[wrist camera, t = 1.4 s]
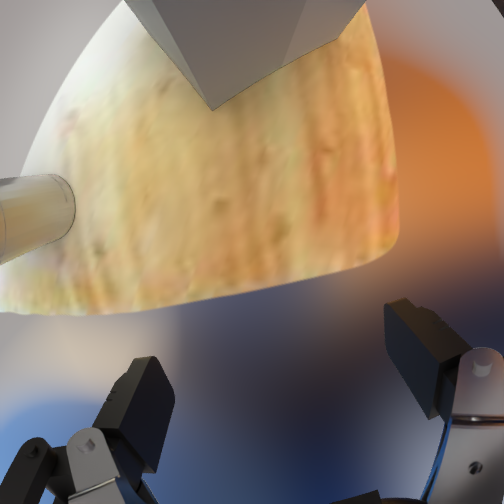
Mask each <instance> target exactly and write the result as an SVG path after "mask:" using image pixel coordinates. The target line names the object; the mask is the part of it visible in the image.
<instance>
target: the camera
mask: <svg viewBox="0 0 504 504" xmlns="http://www.w3.org/2000/svg"><path fill="white" fill-rule="evenodd" d="M492 2H493V3H494V4H495V6H496V7H497V9H498V10H499V12H500V13H501V15H502V16H503V17H504V0H492Z"/></svg>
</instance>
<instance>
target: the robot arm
mask: <svg viewBox="0 0 504 504" xmlns="http://www.w3.org/2000/svg"><path fill="white" fill-rule="evenodd" d="M74 215H75V202H74V197H73V193H72V191H71V189H70V187H69V185H68V184H67V183H66V181H65V180H63V179H62V178H61V177H59V176H57V175H52V174H48V175H34V176H23V177H13V178H4V179H0V265H2V264H4V263H6V262H8V261H10V260H12V259H14V258H16V257H19V256H21V255H23V254H25V253H27V252H29V251H32V250H34V249H36V248H38V247H41V246H43V245H45V244H48V243H50V242H52V241H55V240H57V239H59V238H61V237H63V236H64V235H65V234H66V233H67V232H68V231H69V229H70V227H71V225H72V223H73V220H74ZM384 332H385V346H386V350H387V353H388V356H389V357H390V359H391V361H392V362H393V364H394V365H395V367H396V368H397V370H398V372H399V373H400V375H401V376H402V378H403V379H404V381H405V383H406V384H407V386H408V387H409V389H410V390H411V392H412V394H413V395H414V397H415V399H416V400H417V402H418V404H419V405H420V407H421V408H422V410H423V412H424V413H425V415H426V417H427V418H428V420H430V419H432V418H434V417H436V416H439V415H440V416H441V418H442V419H443V421H444V422H445V423H444V427H443V431H442V434H441V438H440V442H439V446H438V449H437V453H436V456H435V460H434V463H433V466H432V469H431V472H430V475H429V477H428V480H427V482H426V485H425V487H424V490H423V492H422V495H421V497H420V500H418V499H410V498H383V499H380V496H379V492H378V490H375V491H372V492H369V493H365V494H362V495H359V496H355V497H352V498H348V499H344V500H341V501H337V502H333V503H331V504H502V500H503V496H504V356H503V357H502V356H501V355H500V353H498V352H497V351H495V350H493V349H490V348H475V349H473V348H472V347H471V346H470V345H469V344H468V343H467V342H466V341H465V340H464V339H462V337H460V336H459V335H458V334H457V333H456V332H455V331H454V330H453V329H452V328H451V327H449V325H448V324H447V323H446V322H445V321H442V319H441V318H440V317H439V316H438V315H437V314H436V313H435V312H434V311H432V310H429V309H426V308H424V307H422V306H421V307H419V308H416V307H415V306H414V305H413V304H412V303H411V302H410V301H409V300H408V299H407V298H401V299H398V300H395V301H392V302H389V303H386V304H385V305H384ZM110 392H111V393H110V394H109V395H108V397H107V399H106V401H105V403H104V404H103V406H102V408H101V410H100V412H99V414H98V416H97V418H96V420H95V421H94V423H93V425H92V427H90V428H84V429H82V430H80V431H78V432H76V433H75V434H74V435H73V436H72V437H71V438H70V439H69V441H68V443H67V446H61V447H55V448H52V447H51V446H50V445H49V444H48V443H47V442H46V441H45V440H44V439H43V438H40V437H36V438H32V439H30V440H28V441H27V442H25V443H24V444H23V445H22V446H21V448H20V450H19V451H18V453H17V455H16V457H15V458H14V461H13V462H12V464H11V466H10V468H9V469H8V472H7V473H6V475H5V477H4V479H3V481H2V483H1V485H0V504H39V502H40V499H41V496H42V494H43V492H44V489H45V488H46V489H47V490H49V491H50V492H51V493H52V494H53V495H55V496H56V497H55V499H54V502H53V504H159V503H158V502H157V500H156V498H155V496H154V495H153V494H152V491H151V490H150V488H149V486H148V485H147V483H146V482H145V480H143V478H142V473H156V471H157V468H158V464H159V459H160V456H161V452H162V448H163V444H164V441H165V437H166V433H167V430H168V426H169V422H170V418H171V415H172V412H173V408H174V404H175V395H174V391H173V388H172V386H171V384H170V382H169V380H168V378H167V376H166V374H165V373H164V370H163V368H162V366H161V364H160V362H159V361H158V359H157V358H156V357H155V356H149V357H142V358H135V359H134V360H133V361H132V363H131V365H130V367H129V369H128V371H127V373H124V374H123V375H122V376H121V377H120V378H119V379H118V380H117V381H116V382H115V384H114V386H113V387H112V389H111V391H110Z"/></svg>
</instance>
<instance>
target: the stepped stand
mask: <svg viewBox="0 0 504 504" xmlns="http://www.w3.org/2000/svg"><path fill="white" fill-rule="evenodd" d="M124 1H125V2H126V3H127V5H128V6H129V7H130V9H131V10H132V11H133V13H134V14H135V15H136V17H137V18H138V19H139V21H140V22H141V23H142V25H143V26H144V28H145V29H146V30H147V32H148V33H149V34H150V35H151V36H152V38H153V39H154V40H155V41H156V42H157V43H158V45H159V46H160V47H161V48H162V49H163V51H164V52H165V53H166V54H167V55H168V57H169V58H170V59H171V60H172V61H173V63H174V64H175V65H176V66H177V67H178V69H179V70H180V71H181V72H182V74H183V75H184V76H185V77H186V79H187V80H188V81H189V82H190V84H191V85H192V86H193V87H194V89H195V90H196V91H197V92H198V94H199V95H200V96H201V97H202V99H203V100H204V101H205V102H206V104H207V105H208V106H209V108H210V109H211V110H212V111H213V110H214V109H216V108H217V107H219V106H220V105H222V104H223V103H225V102H226V101H228V100H229V99H231V98H232V97H234V96H235V95H237V94H238V93H240V92H241V91H243V90H245V89H246V88H248V87H249V86H251V85H253V84H254V83H256V82H257V81H259V80H261V79H262V78H264V77H266V76H267V75H269V74H271V73H273V72H274V71H276V70H278V69H279V68H281V67H283V66H285V65H287V64H288V63H290V62H292V61H294V60H296V59H298V58H299V57H301V56H303V55H305V54H307V53H309V52H311V51H313V50H315V49H317V48H319V47H321V46H323V45H325V44H327V43H329V42H331V41H333V40H335V39H337V38H338V37H339V35H340V34H341V33H342V31H343V30H344V29H345V27H346V26H347V25H348V23H349V22H350V21H351V19H352V18H353V17H354V16H355V14H356V13H357V12H358V10H359V9H360V8H361V7H362V5H363V4H364V3H365V1H366V0H124Z"/></svg>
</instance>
